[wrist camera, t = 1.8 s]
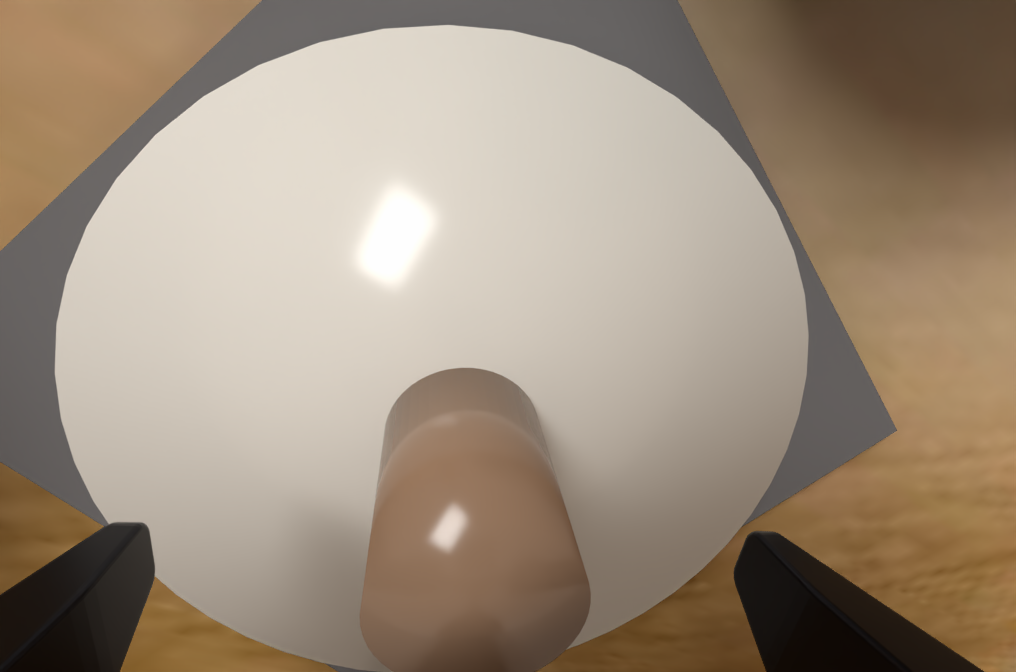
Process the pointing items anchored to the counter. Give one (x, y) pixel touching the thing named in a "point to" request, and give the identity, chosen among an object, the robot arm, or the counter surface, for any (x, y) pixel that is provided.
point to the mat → (359, 9)
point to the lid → (432, 349)
